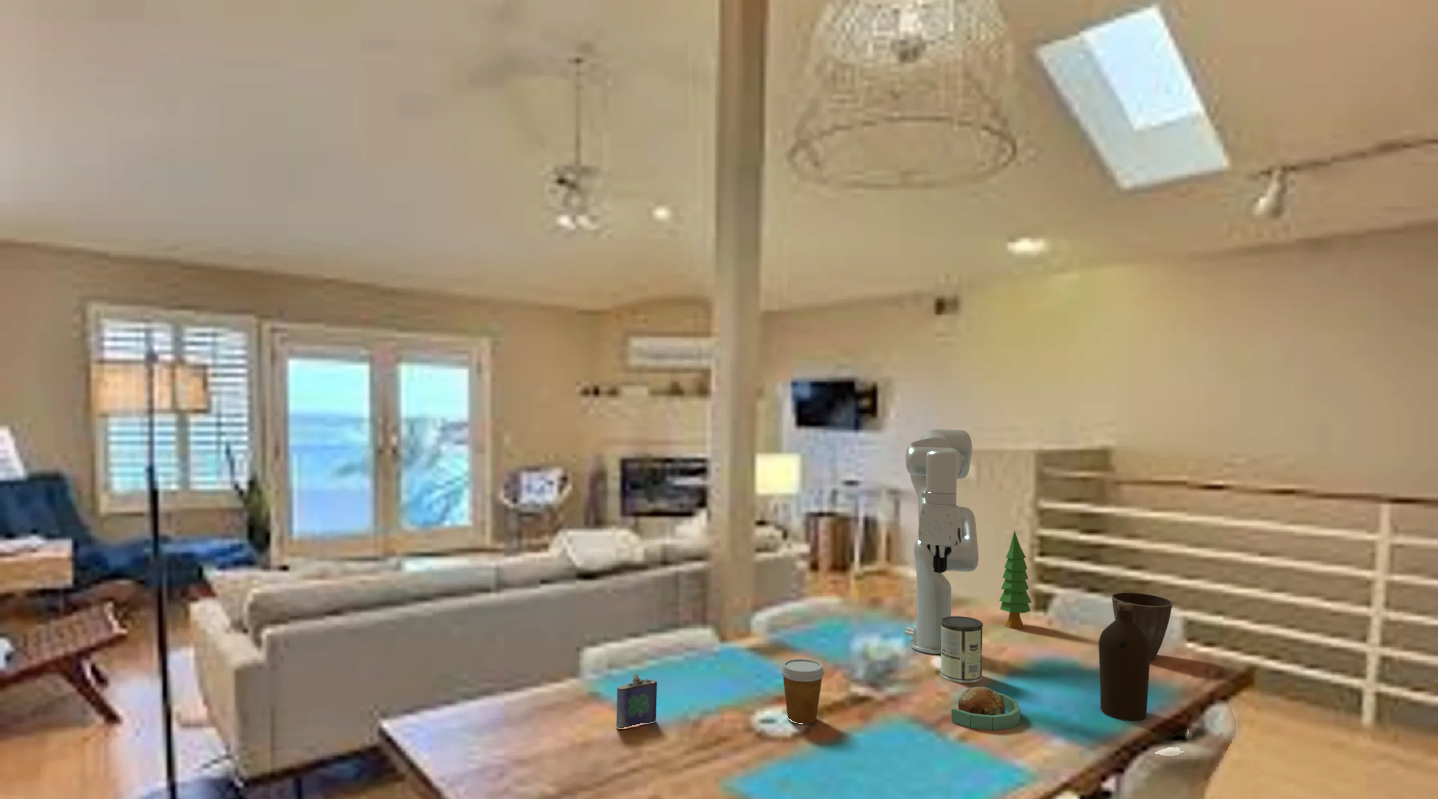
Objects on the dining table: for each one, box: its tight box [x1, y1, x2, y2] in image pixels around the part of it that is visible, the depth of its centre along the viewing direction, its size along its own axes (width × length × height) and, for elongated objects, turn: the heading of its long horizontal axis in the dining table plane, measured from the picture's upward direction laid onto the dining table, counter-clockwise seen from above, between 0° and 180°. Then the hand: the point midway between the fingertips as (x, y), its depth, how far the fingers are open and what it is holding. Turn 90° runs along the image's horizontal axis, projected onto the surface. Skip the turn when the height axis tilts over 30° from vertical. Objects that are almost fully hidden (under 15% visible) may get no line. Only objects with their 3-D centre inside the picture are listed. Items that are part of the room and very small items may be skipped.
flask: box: [616, 673, 658, 728], centre depth 177 cm, size 9×3×11 cm, turn 121°
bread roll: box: [957, 686, 1006, 715], centre depth 185 cm, size 10×10×8 cm
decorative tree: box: [998, 530, 1032, 630], centre depth 256 cm, size 10×9×30 cm
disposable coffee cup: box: [780, 658, 825, 725], centre depth 181 cm, size 10×10×12 cm
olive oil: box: [1098, 602, 1151, 722], centre depth 186 cm, size 11×11×25 cm
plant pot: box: [1111, 591, 1174, 661], centre depth 227 cm, size 15×15×16 cm
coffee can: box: [940, 615, 984, 684], centre depth 209 cm, size 10×10×14 cm
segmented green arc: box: [950, 691, 1021, 731], centre depth 183 cm, size 11×17×3 cm, turn 136°
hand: (939, 571), depth 207 cm, fingers closed
